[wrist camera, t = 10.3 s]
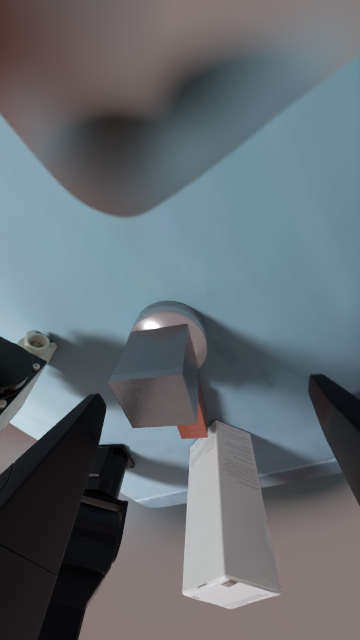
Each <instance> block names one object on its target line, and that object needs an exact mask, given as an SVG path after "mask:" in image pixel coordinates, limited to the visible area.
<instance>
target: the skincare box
mask: <svg viewBox="0 0 360 640" xmlns="http://www.w3.org/2000/svg"><path fill="white" fill-rule="evenodd" d="M185 536H186V537H185V553H184V571H183V590H182V593H183V595H185V596H188V597H191V598H195V599H197V600H201V601H205V602H209V603H212V604H216V605H219V606H222V607H225V608H228V609H233V608H237V607H240V606H243V605H245V604H248V603H252V602H255V601H258V600H262V599H266V598H269V597H272V596H277V595H281V590H280V586H279V580H278V575H277V570H276V565H275V559H274V555H273V549H272V545H271V540H270V535H269V530H268V523H267V518H266V513H265V508H264V503H263V498H262V492H261V487H260V482H259V477H258V471H257V466H256V461H255V456H254V451H253V446H252V441H251V435H250V434H249V433H247V432H245V431H243V430H240V429H237V428H235V427H232V426H230V425H228V424H225V423H223V422H220V421H217V420H215V421H214V422H213V423H212V424H211V425H210V426H209V428H208V438H199V439H198V440H197V441H196V442H195V443H194V444H193V445H192V446H191V448H190V462H189V480H188V498H187V517H186V535H185Z"/></svg>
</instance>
